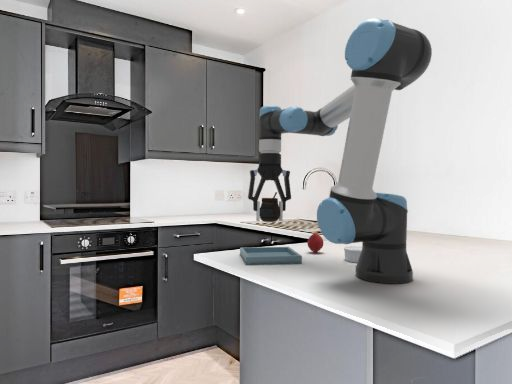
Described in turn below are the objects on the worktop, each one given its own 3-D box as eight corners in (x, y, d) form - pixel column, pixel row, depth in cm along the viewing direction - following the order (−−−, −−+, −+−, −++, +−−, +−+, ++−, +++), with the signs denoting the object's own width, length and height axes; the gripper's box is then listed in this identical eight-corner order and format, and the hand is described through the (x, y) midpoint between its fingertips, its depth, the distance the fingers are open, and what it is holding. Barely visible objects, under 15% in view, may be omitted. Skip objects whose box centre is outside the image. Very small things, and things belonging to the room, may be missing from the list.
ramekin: (372, 264, 128) (372, 250, 127) (344, 262, 129) (344, 249, 129) (369, 258, 136) (370, 246, 136) (343, 257, 138) (343, 245, 138)
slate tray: (301, 263, 127) (301, 255, 127) (246, 265, 124) (246, 257, 124) (288, 253, 145) (288, 246, 145) (240, 254, 142) (240, 247, 142)
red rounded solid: (318, 255, 142) (318, 232, 142) (304, 253, 146) (304, 231, 145) (325, 252, 147) (326, 231, 146) (312, 251, 150) (312, 230, 150)
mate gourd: (254, 221, 132) (255, 192, 132) (264, 220, 139) (265, 191, 139) (274, 222, 129) (274, 192, 129) (283, 221, 136) (284, 192, 136)
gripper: (296, 154, 139) (295, 219, 139) (239, 153, 136) (238, 219, 136) (301, 152, 131) (300, 221, 132) (241, 151, 128) (241, 222, 129)
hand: (269, 220), depth 134 cm, fingers closed on mate gourd, 7 cm apart
